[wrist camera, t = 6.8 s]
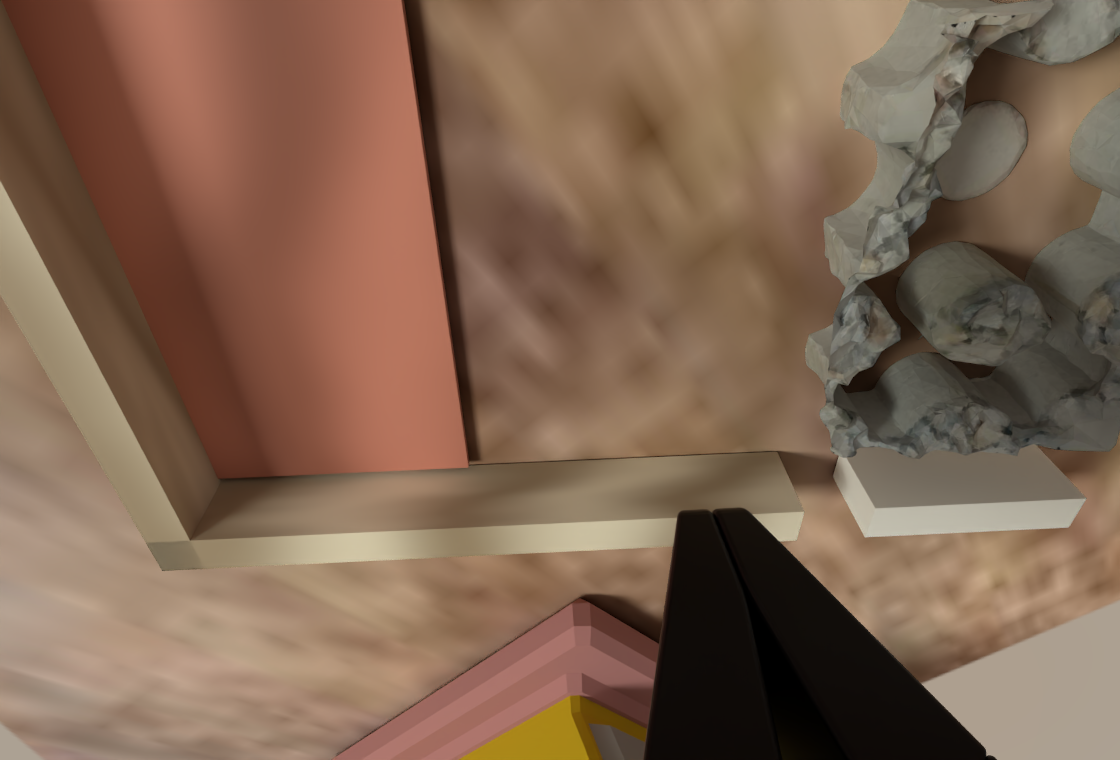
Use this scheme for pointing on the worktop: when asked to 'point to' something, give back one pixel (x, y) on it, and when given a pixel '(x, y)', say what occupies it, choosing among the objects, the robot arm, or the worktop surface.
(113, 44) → the channel
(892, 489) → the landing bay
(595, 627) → the retro mantel clock
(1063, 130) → the worktop surface
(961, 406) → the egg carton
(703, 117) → the worktop surface
